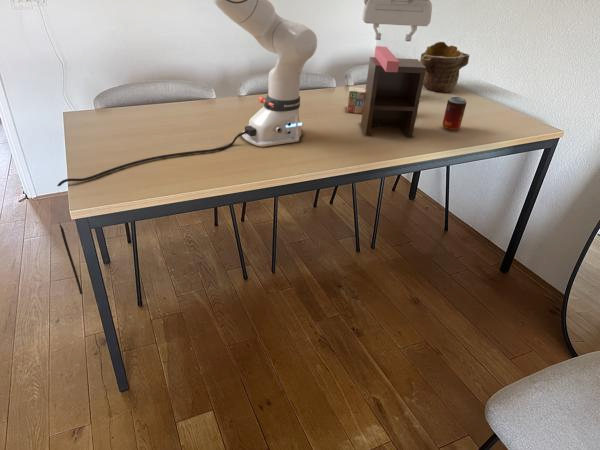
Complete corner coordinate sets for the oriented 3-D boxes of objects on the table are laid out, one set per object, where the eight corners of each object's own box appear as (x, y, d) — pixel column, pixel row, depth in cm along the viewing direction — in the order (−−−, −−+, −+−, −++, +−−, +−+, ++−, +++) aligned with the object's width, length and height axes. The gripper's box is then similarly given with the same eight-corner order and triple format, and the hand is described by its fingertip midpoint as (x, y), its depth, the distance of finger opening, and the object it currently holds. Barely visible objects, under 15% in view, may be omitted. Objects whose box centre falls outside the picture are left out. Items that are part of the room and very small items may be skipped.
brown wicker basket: (457, 84, 205) (437, 32, 203) (417, 105, 225) (398, 58, 223) (483, 76, 217) (464, 27, 216) (443, 96, 237) (425, 52, 236)
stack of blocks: (346, 112, 190) (350, 83, 183) (346, 107, 195) (350, 79, 189) (397, 116, 189) (402, 87, 182) (396, 111, 194) (401, 83, 187)
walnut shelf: (412, 137, 171) (426, 67, 156) (365, 135, 170) (375, 65, 155) (404, 125, 181) (417, 59, 166) (360, 124, 180) (369, 57, 165)
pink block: (397, 72, 149) (399, 61, 147) (385, 71, 149) (387, 61, 147) (384, 56, 167) (386, 46, 165) (374, 55, 167) (375, 46, 165)
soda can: (445, 124, 185) (452, 94, 178) (461, 128, 181) (470, 98, 174) (438, 128, 180) (445, 98, 173) (455, 133, 177) (463, 103, 170)
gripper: (367, -11, 127) (360, 40, 134) (437, -7, 128) (427, 44, 136) (363, -14, 132) (357, 36, 140) (431, -10, 133) (422, 39, 141)
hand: (392, 40), depth 138 cm, fingers open, 8 cm apart
